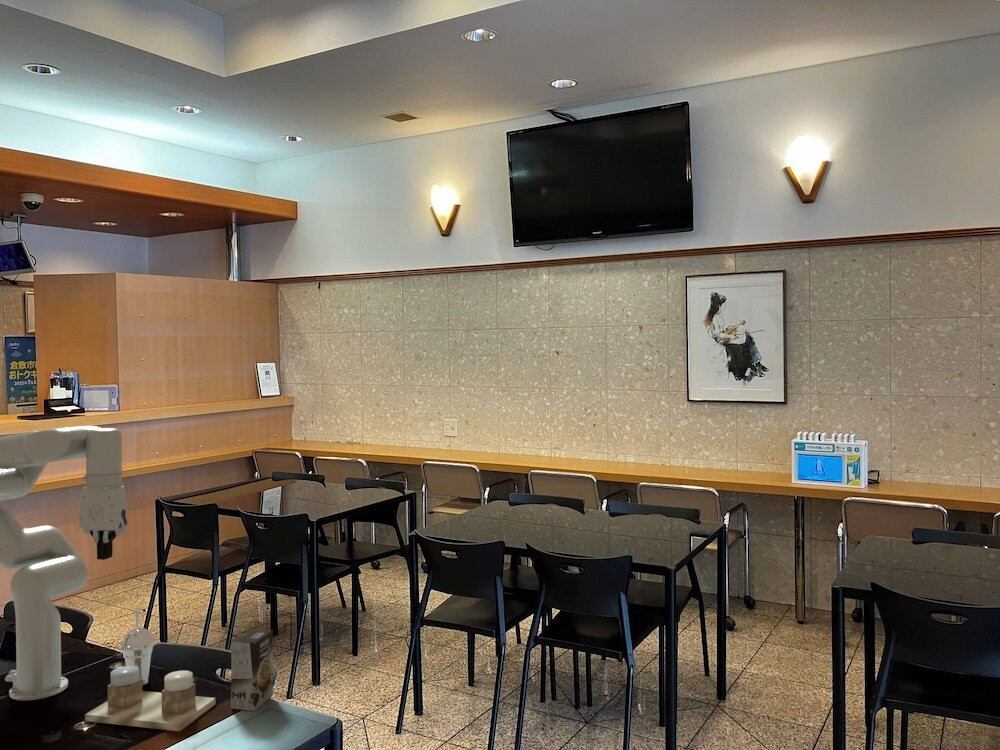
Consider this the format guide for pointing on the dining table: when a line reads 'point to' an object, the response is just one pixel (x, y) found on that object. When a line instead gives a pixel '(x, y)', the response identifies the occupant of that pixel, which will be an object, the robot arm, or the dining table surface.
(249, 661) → the coffee box
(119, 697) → the wooden mounting board
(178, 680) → the knob
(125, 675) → the knob
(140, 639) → the cup with straw
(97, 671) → the dining table surface
